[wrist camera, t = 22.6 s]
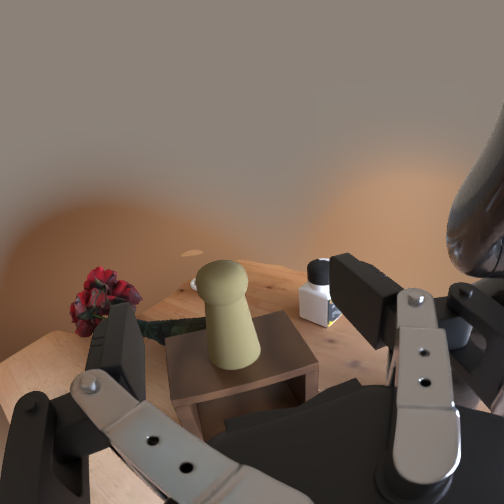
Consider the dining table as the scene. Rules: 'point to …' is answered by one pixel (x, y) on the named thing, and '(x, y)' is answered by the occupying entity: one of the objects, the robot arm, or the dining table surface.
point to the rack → (239, 377)
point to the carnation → (116, 292)
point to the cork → (227, 315)
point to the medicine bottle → (317, 295)
